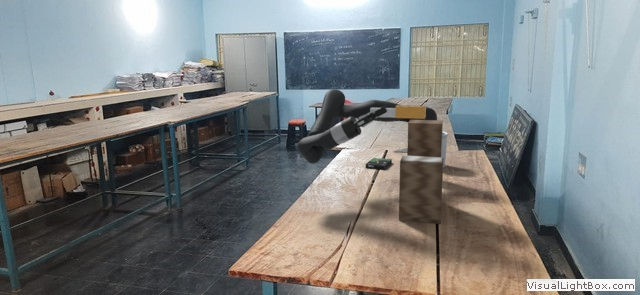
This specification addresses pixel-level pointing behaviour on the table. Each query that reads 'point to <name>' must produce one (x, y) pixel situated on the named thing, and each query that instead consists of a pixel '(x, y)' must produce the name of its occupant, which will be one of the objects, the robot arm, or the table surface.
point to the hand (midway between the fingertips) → (386, 108)
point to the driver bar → (404, 112)
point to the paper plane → (402, 150)
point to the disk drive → (378, 163)
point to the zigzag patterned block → (422, 173)
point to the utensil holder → (444, 146)
